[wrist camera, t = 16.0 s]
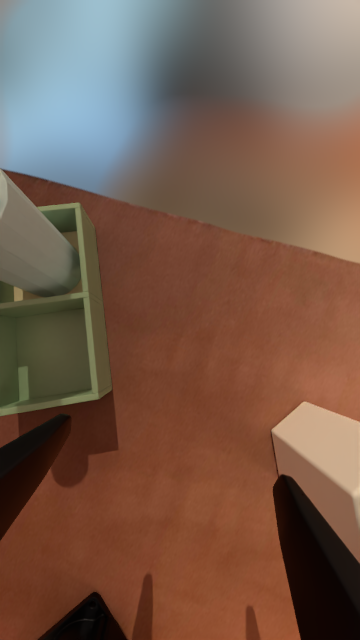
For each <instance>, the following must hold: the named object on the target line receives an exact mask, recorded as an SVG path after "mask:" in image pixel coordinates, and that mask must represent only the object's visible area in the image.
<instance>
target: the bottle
mask: <svg viewBox="0 0 360 640" xmlns="http://www.w3.org/2000/svg"><path fill="white" fill-rule="evenodd" d="M80 278H81V268H80V257H79V254H78V252H77V251H76V249H75V248H74V247H73V246H72V245H71V244H70V243H69V242H68V240H67V239H66V238H65V237H64V236H63V235H62V234H61V233H60V232H59V231H58V230H57V229H56V228H55V227H54V225H53V224H52V223H51V222H50V221H49V220H48V219H47V218H46V217H45V216H44V215H43V214H42V213H41V212H40V210H39V209H38V208H37V207H36V206H35V205H34V204H33V203H32V202H31V201H30V200H29V199H28V198H27V197H26V195H25V194H24V193H23V192H22V191H21V190H20V189H19V188H18V187H17V186H16V185H15V184H14V183H13V182H12V180H11V179H10V178H9V177H8V176H7V175H6V174H5V173H4V172H3V171H2V170H1V169H0V281H3V282H5V283H8V284H10V285H12V286H15V287H17V288H20V289H22V290H25V291H27V292H29V293H32V294H34V295H38V296H41V297H51V296H59V295H65V294H67V293H68V292H70V291H71V290H72V289H73V288H74V287H75V286H76V285H77V284H78V282H79V281H80Z"/></svg>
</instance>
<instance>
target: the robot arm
mask: <svg viewBox="0 0 360 640" xmlns="http://www.w3.org/2000/svg"><path fill="white" fill-rule="evenodd" d="M70 431H71V416H70V415H67V414H59V415H58V416H56V417H54V418H52V419H50V420H49V421H47V422H45V423H43V424H42V425H40V426H38V427H36V428H35V429H33V430H31V431H29V432H27V433H26V434H24V435H22V436H20V437H19V438H17V439H15V440H13V441H11V442H10V443H8V444H6V445H4V446H3V447H1V448H0V540H1V539H2V538H3V536H4V535H5V533H6V532H7V530H8V529H9V527H10V526H11V525H12V523H13V522H14V520H15V519H16V517H17V516H18V515H19V513H20V512H21V510H22V509H23V507H24V506H25V505H26V503H27V502H28V500H29V499H30V497H31V496H32V494H33V493H34V492H35V490H36V489H37V487H38V486H39V484H40V483H41V482H42V480H43V479H44V477H45V476H46V474H47V472H48V471H49V469H50V467H51V465H52V464H53V462H54V460H55V459H56V457H57V455H58V453H59V452H60V450H61V448H62V446H63V445H64V443H65V441H66V439H67V438H68V436H69V434H70ZM273 497H274V505H275V512H276V519H277V527H278V534H279V540H280V546H281V551H282V555H283V560H284V564H285V569H286V573H287V578H288V583H289V587H290V592H291V596H292V601H293V606H294V610H295V615H296V619H297V624H298V628H299V633H300V638H301V640H360V563H359V562H358V561H357V559H356V558H355V557H354V555H353V554H352V553H351V552H350V550H349V549H348V548H347V546H346V545H345V544H344V543H343V541H342V540H341V539H340V538H339V536H338V535H337V534H336V532H335V531H334V530H333V529H332V527H331V526H330V525H329V523H328V522H327V521H326V520H325V518H324V517H323V516H322V514H321V513H320V512H319V511H318V509H317V508H316V507H315V505H314V504H313V503H312V502H311V500H310V499H309V498H308V496H307V495H306V494H305V493H304V491H303V490H302V489H301V487H300V486H299V485H298V484H297V482H296V481H295V480H294V479H293V478H292V477H291V476H289V475H285V474H281V475H280V476H279V477H278V479H277V481H276V483H275V484H274V486H273ZM92 601H94V602H95V603H94V602H92ZM38 640H126V638H125V637H124V635H123V633H122V632H121V630H120V628H119V627H118V625H117V623H116V622H115V620H114V618H113V617H112V615H111V613H110V611H109V610H108V608H107V606H106V605H105V603H104V601H103V600H102V598H101V596H100V595H99V594H98V593H97V592H93V593H91V594H90V595H89V596H88V597H87V598H85V599H84V600H83V601H82V602H81V603H80V604H78V605H77V606H76V607H75V608H74V609H73V610H71V611H70V612H69V613H68V614H67V615H66V616H65V617H63V618H62V619H61V620H60V621H59V622H58V623H56V624H55V625H54V626H53V627H52V628H51V629H49V630H48V631H47V632H46V633H45V634H44V635H42V636H41V637H40V638H39V639H38Z"/></svg>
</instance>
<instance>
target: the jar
mask: <svg viewBox="0 0 360 640" xmlns="http://www.w3.org/2000/svg"><path fill="white" fill-rule="evenodd" d="M271 433H272V439H273V444H274V450H275V456H276V462H277V468H278V474H279V476H280V475H281V474H285V475H289V476H291V477H292V478H293V479H294V480H295V481H296V482H297V484H298V485H299V486H300V487H301V489H302V490H303V491H304V493H305V494H306V495H307V496H308V498H309V499H310V500H311V502H312V503H313V504H314V505H315V507H316V508H317V509H318V511H319V512H320V513H321V514H322V516H323V517H324V518H325V520H326V521H327V522H328V523H329V525H330V526H331V527H332V529H333V530H334V531H335V532H336V534H337V535H338V536H339V538H340V539H341V540H342V541H343V543H344V544H345V545H346V546H347V548H348V549H349V550H350V552H351V553H352V554H353V555H354V557H355V558H356V559H357V561H358V562H359V563H360V422H358V421H356V420H353V419H350V418H348V417H345V416H342V415H340V414H337V413H335V412H332V411H329V410H327V409H324V408H321V407H319V406H316V405H313V404H311V403H308V402H302V403H301V404H300V405H299V406H298V407H297V408H296V409H295V410H293V411H292V412H291V413H290V414H289V415H288V416H287V417H285V418H284V419H283V420H282V421H281V422H280V423H279V424H278V425H276V426H275V427H274V428H273V429H272V430H271Z"/></svg>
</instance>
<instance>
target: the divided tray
mask: <svg viewBox="0 0 360 640" xmlns="http://www.w3.org/2000/svg"><path fill="white" fill-rule="evenodd" d="M37 208H38V209H39V210H40V212H41V213H42V214H43V215H44V216H45V217H46V218H47V219H48V220H49V221H50V222H51V223H52V224H53V225H54V227H55V228H56V229H57V230H58V231H59V232H60V233H61V234H62V235H63V236H64V237H65V238H66V239H67V240H68V242H69V243H70V244H71V245H72V246H73V247H74V248H75V249H76V251H77V252H78V254H79V257H80V268H81V278H80V281H79V282H78V284H77V285H76V286H75V287H74V288H73V289H72V290H71V291H70V292H68V293H67V294H65V295H59V296H51V297H41V296H38V295H34V294H32V293H29V292H27V291H25V290H22V289H20V288H17V287H15V286H12V285H10V284H8V283H5V282H3V281H0V416H4V415H10V414H16V413H22V412H27V411H33V410H39V409H45V408H51V407H57V406H62V405H68V404H74V403H80V402H86V401H92V400H97V399H100V398H101V397H103V396H104V395H106V394H107V393H108V392H110V391H111V390H112V382H111V372H110V363H109V354H108V344H107V335H106V326H105V316H104V307H103V298H102V288H101V279H100V270H99V260H98V251H97V242H96V232H95V227H94V225H93V224H92V222H91V220H90V219H89V217H88V216H87V214H86V212H85V211H84V209H83V207H82V206H81V204H80V203H72V204H62V205H52V206H43V207H37Z"/></svg>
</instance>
